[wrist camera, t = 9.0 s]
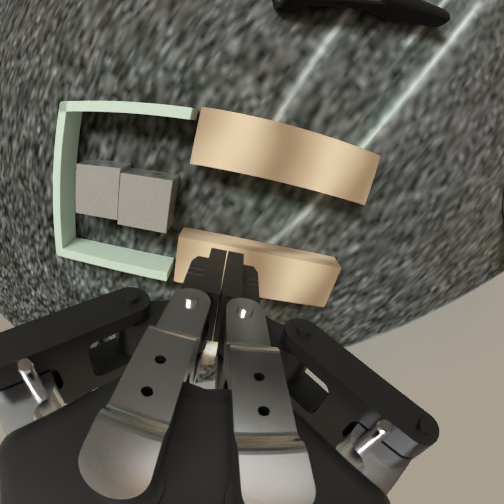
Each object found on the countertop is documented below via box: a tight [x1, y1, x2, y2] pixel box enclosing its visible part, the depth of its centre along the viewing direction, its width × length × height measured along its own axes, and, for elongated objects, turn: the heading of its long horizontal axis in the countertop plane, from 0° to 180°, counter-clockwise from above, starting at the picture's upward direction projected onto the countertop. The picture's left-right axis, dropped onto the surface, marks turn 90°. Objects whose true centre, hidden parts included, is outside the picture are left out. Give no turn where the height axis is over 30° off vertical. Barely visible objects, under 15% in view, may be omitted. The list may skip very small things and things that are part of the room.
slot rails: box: [174, 107, 380, 307], centre depth 20 cm, size 13×14×2 cm
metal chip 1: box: [76, 159, 132, 220], centre depth 19 cm, size 4×4×2 cm
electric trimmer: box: [272, 0, 450, 27], centre depth 12 cm, size 4×16×3 cm, turn 97°
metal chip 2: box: [117, 167, 180, 233], centre depth 20 cm, size 4×4×2 cm
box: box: [53, 101, 198, 281], centre depth 19 cm, size 11×13×2 cm
